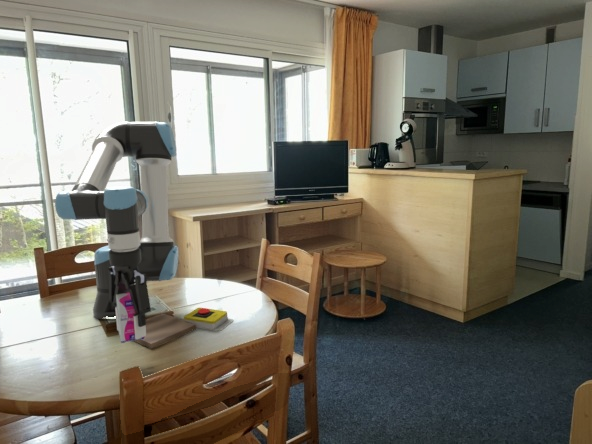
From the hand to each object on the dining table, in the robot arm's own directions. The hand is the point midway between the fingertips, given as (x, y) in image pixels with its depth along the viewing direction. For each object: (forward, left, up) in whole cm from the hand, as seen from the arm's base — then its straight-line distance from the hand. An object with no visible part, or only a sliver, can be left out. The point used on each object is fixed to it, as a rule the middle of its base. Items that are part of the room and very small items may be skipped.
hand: (131, 332), depth 113 cm
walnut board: (-10, +15, -8) cm, 19 cm away
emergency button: (-3, +29, -8) cm, 30 cm away
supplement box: (0, 0, -1) cm, 1 cm away
